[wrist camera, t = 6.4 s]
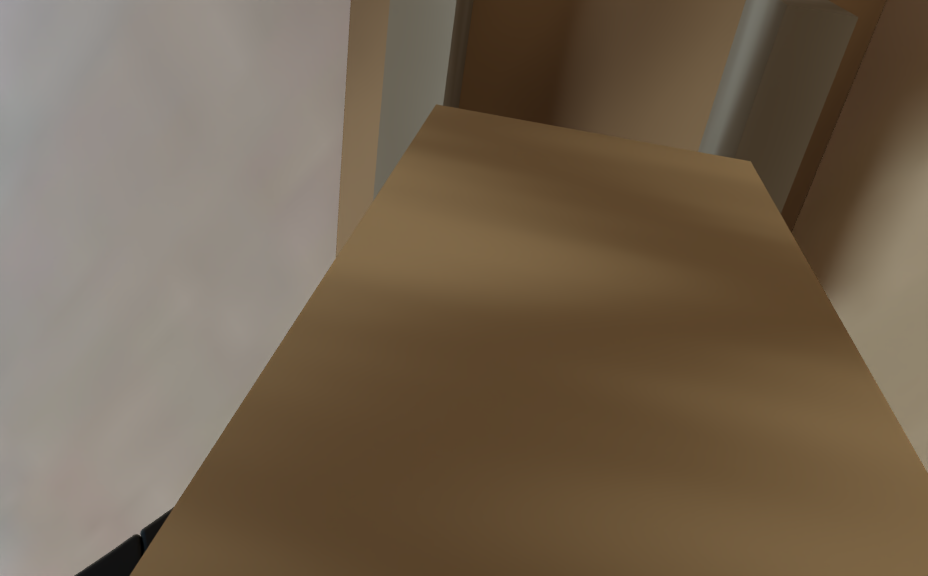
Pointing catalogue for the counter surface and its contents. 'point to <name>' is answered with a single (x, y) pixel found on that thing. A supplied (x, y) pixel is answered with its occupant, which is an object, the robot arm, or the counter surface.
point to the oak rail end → (559, 385)
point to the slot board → (606, 78)
